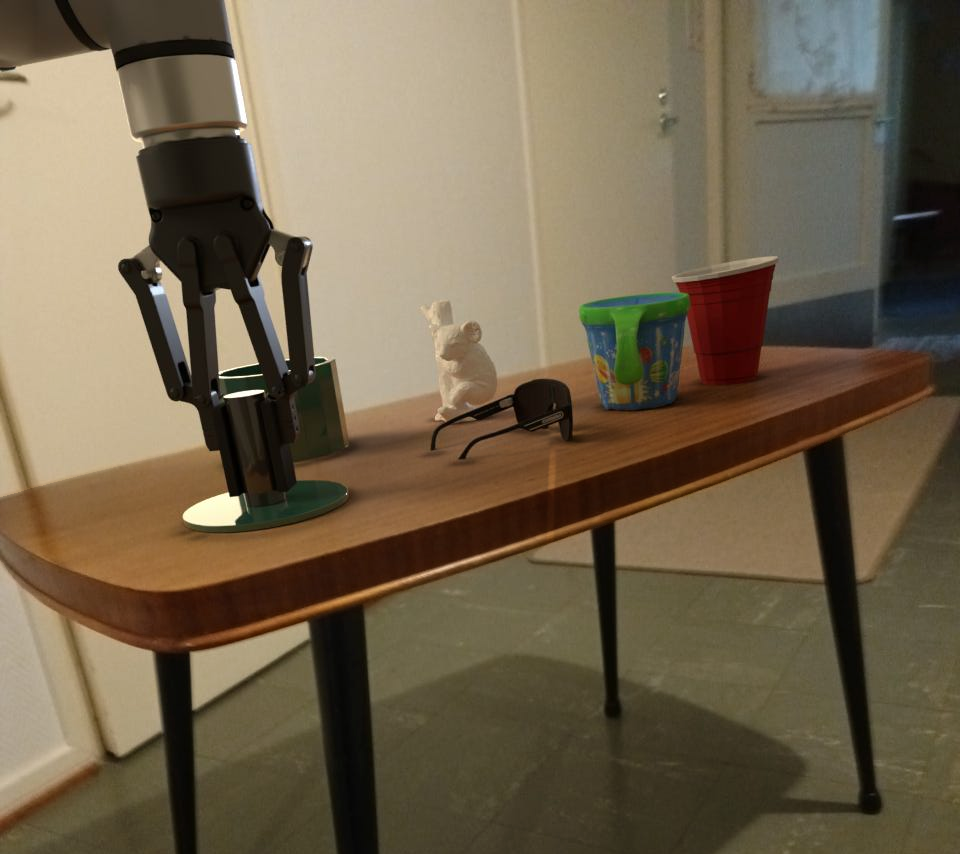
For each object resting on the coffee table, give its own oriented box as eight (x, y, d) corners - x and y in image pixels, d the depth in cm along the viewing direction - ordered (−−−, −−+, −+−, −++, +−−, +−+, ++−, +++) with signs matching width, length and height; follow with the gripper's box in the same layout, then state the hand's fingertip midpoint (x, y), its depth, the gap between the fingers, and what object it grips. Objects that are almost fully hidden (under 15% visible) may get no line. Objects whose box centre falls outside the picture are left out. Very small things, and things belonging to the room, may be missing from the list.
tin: (215, 476, 90) (194, 382, 87) (250, 450, 101) (233, 365, 98) (335, 464, 89) (319, 368, 86) (359, 439, 99) (345, 352, 96)
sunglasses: (595, 439, 85) (584, 382, 83) (475, 486, 81) (461, 427, 79) (534, 426, 94) (523, 374, 92) (424, 467, 90) (410, 414, 88)
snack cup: (678, 419, 90) (674, 302, 86) (567, 424, 94) (558, 313, 90) (704, 388, 103) (701, 286, 99) (606, 394, 107) (599, 296, 103)
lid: (160, 547, 69) (127, 418, 66) (216, 501, 81) (191, 389, 77) (331, 531, 68) (307, 398, 64) (364, 487, 79) (344, 372, 76)
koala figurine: (415, 423, 104) (398, 305, 99) (467, 411, 107) (453, 295, 103) (458, 430, 97) (442, 303, 93) (513, 417, 101) (500, 294, 96)
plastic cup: (665, 381, 111) (659, 268, 106) (760, 368, 111) (759, 255, 106) (689, 395, 100) (685, 271, 96) (794, 381, 101) (794, 257, 96)
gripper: (323, 129, 67) (377, 467, 76) (101, 161, 69) (179, 487, 78) (296, 119, 60) (359, 492, 69) (50, 154, 62) (142, 513, 71)
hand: (263, 489), depth 73 cm, fingers closed on lid, 3 cm apart
